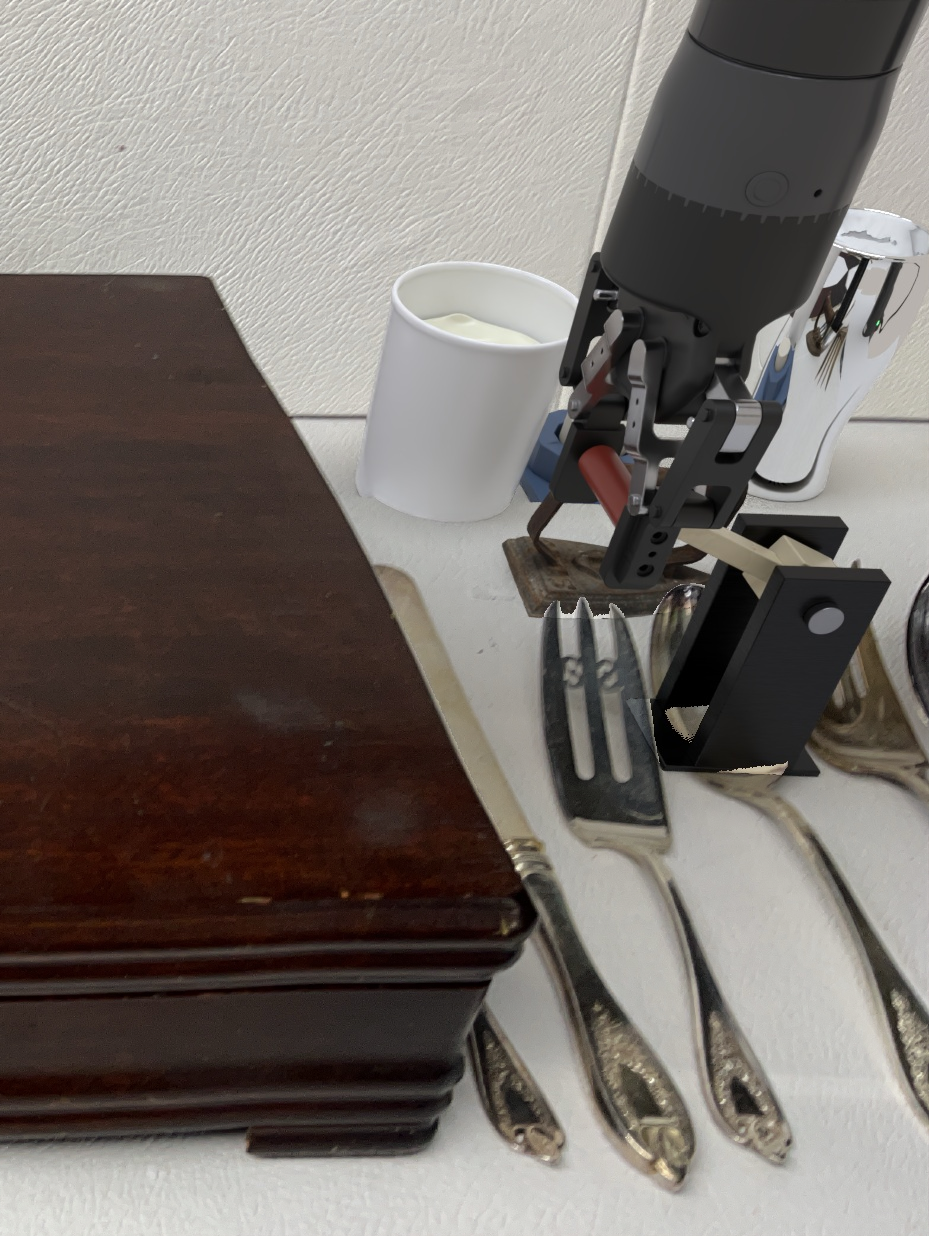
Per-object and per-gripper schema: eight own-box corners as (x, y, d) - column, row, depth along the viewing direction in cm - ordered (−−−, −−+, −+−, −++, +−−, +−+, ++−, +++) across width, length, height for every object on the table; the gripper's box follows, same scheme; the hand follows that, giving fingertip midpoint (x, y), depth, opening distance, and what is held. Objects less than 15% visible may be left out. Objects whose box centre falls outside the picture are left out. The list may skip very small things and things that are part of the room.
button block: (489, 428, 106) (501, 392, 105) (616, 432, 106) (630, 396, 105) (541, 521, 99) (555, 483, 97) (678, 526, 98) (695, 488, 97)
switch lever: (601, 538, 74) (644, 495, 72) (563, 474, 78) (603, 431, 76) (823, 646, 76) (869, 606, 75) (775, 578, 80) (818, 539, 79)
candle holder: (522, 557, 96) (594, 359, 88) (335, 524, 99) (389, 328, 91) (519, 465, 103) (585, 275, 96) (344, 436, 106) (395, 249, 98)
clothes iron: (472, 559, 97) (568, 397, 91) (665, 614, 97) (772, 456, 92) (509, 626, 91) (613, 457, 85) (714, 684, 92) (830, 520, 86)
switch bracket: (659, 792, 82) (758, 584, 74) (615, 709, 86) (703, 505, 79) (815, 798, 81) (930, 590, 74) (762, 714, 86) (864, 510, 78)
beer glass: (800, 521, 99) (918, 272, 89) (677, 471, 103) (778, 228, 93) (852, 477, 102) (971, 233, 93) (732, 430, 106) (834, 191, 97)
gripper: (942, 254, 60) (754, 645, 71) (768, 96, 71) (628, 454, 82) (717, 248, 61) (562, 638, 71) (578, 92, 72) (463, 449, 82)
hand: (598, 538), depth 77 cm, fingers open, 6 cm apart
